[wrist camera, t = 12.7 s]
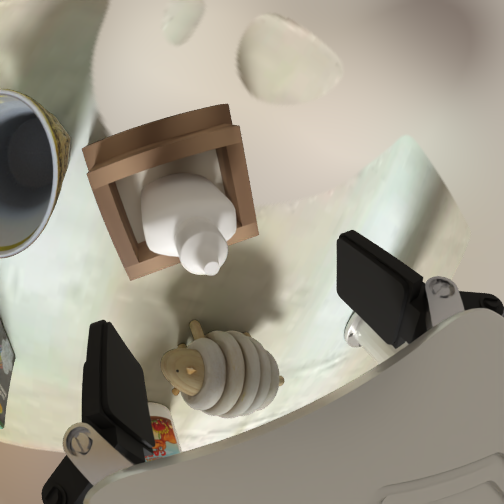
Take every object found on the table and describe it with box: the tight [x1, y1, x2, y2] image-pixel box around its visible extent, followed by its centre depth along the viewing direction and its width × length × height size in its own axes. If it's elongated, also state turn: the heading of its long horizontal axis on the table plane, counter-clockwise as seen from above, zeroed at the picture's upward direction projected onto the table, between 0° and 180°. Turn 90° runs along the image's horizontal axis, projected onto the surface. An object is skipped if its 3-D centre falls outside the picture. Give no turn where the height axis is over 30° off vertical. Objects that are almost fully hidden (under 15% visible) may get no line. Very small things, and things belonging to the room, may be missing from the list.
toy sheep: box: [161, 320, 284, 418], centre depth 31 cm, size 11×17×11 cm, turn 60°
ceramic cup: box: [0, 89, 71, 258], centre depth 13 cm, size 13×10×10 cm
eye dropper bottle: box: [141, 173, 237, 275], centre depth 17 cm, size 4×6×12 cm
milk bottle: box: [145, 402, 182, 462], centre depth 29 cm, size 8×8×20 cm
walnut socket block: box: [82, 104, 259, 281], centre depth 22 cm, size 12×12×6 cm
